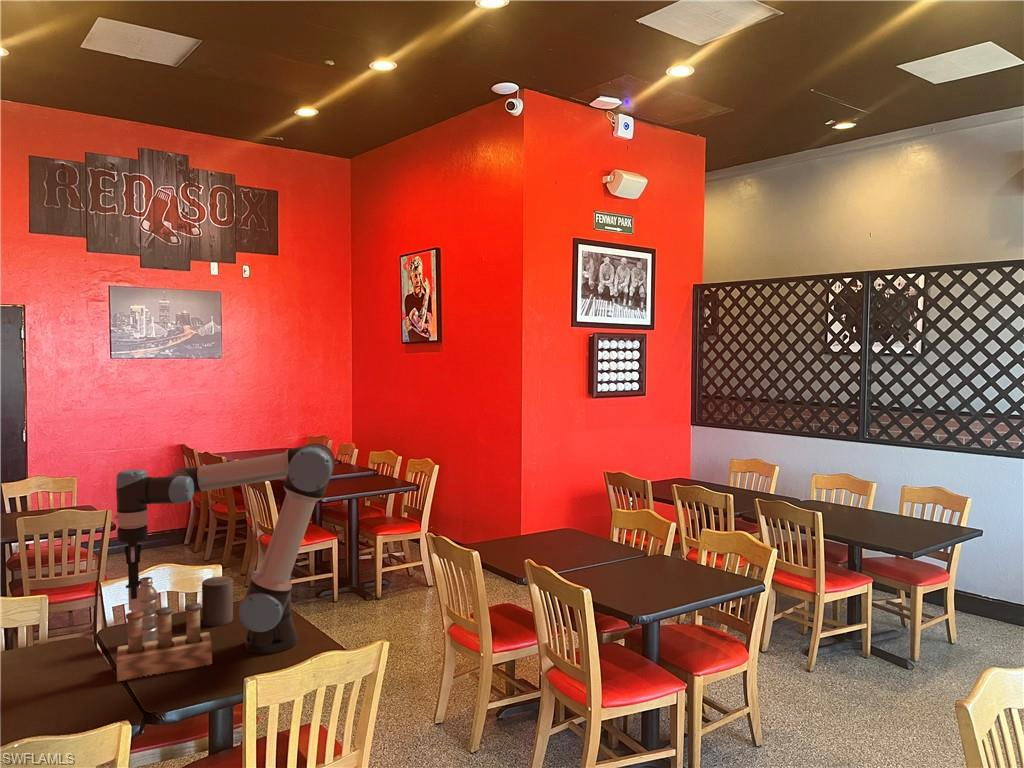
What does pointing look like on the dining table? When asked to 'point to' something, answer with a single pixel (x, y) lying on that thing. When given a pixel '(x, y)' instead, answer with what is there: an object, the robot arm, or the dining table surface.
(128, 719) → the dining table surface
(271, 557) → the robot arm
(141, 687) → the dining table surface
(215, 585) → the pillar candle
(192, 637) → the plug left
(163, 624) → the plug middle
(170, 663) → the socket block
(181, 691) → the dining table surface
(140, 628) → the plug terracotta
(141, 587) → the plastic bottle
